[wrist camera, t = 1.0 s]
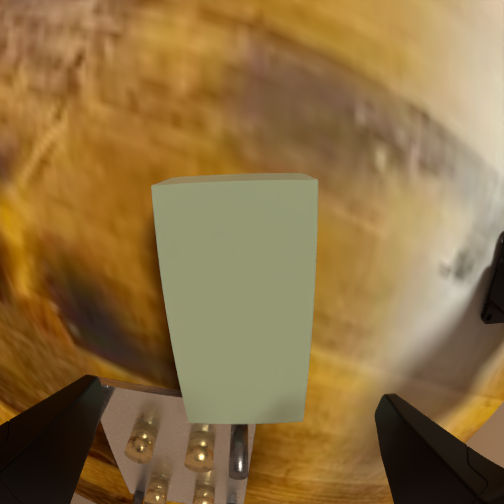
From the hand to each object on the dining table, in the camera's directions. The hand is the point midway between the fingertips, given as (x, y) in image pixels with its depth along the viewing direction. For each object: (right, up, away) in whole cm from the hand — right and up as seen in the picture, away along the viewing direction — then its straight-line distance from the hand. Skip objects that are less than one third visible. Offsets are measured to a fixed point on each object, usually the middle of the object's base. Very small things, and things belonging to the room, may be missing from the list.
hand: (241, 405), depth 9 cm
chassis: (-5, -11, +12) cm, 18 cm away
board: (0, +3, +8) cm, 8 cm away
